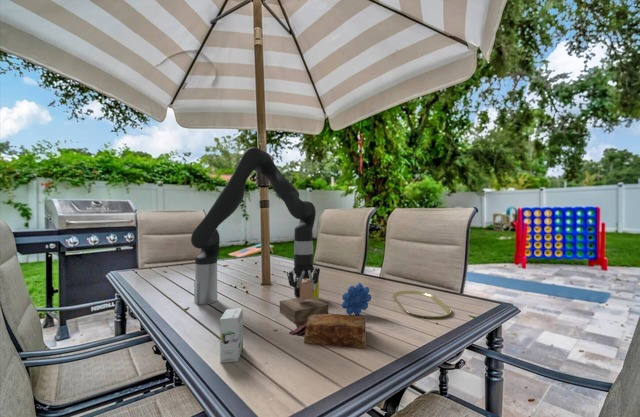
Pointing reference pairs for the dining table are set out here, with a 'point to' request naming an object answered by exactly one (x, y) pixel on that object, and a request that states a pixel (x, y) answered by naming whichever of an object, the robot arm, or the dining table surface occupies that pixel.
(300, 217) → the robot arm
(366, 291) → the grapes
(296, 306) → the walnut block
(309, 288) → the terracotta block
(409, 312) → the yellow oval ring
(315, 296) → the supplement box
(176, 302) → the dining table surface
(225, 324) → the ink box
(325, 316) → the cured meat
